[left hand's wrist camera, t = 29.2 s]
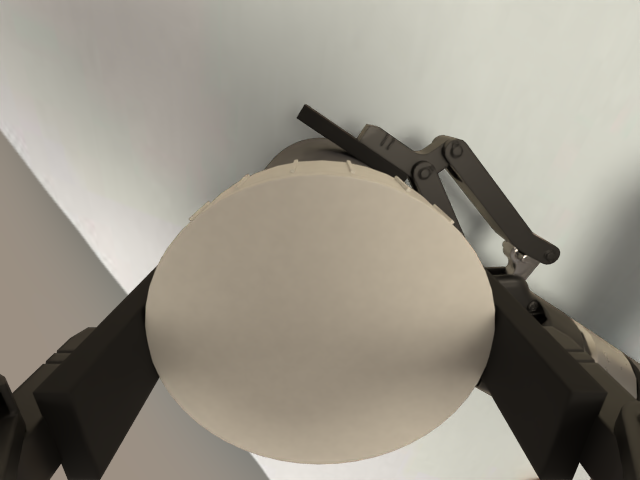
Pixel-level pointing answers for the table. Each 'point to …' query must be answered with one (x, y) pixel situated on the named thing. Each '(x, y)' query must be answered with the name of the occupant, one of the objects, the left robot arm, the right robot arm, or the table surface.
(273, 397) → the lid
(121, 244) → the table surface
